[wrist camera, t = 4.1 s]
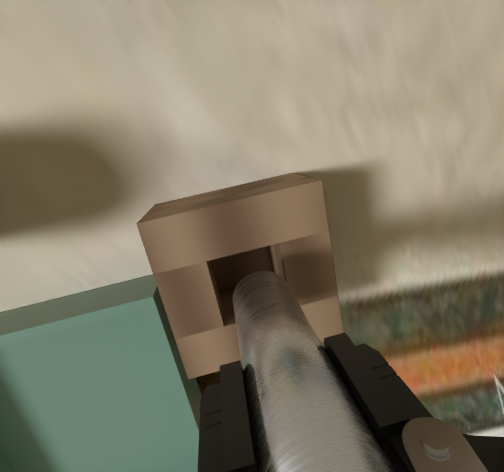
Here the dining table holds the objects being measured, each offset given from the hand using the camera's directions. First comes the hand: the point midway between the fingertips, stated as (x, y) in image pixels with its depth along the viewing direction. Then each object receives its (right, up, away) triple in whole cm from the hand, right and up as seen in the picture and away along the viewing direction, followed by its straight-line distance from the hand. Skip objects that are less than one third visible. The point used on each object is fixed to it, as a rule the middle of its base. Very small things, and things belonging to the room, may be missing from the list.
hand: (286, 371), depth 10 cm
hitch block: (-2, +3, +13) cm, 13 cm away
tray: (-14, -9, +14) cm, 22 cm away
